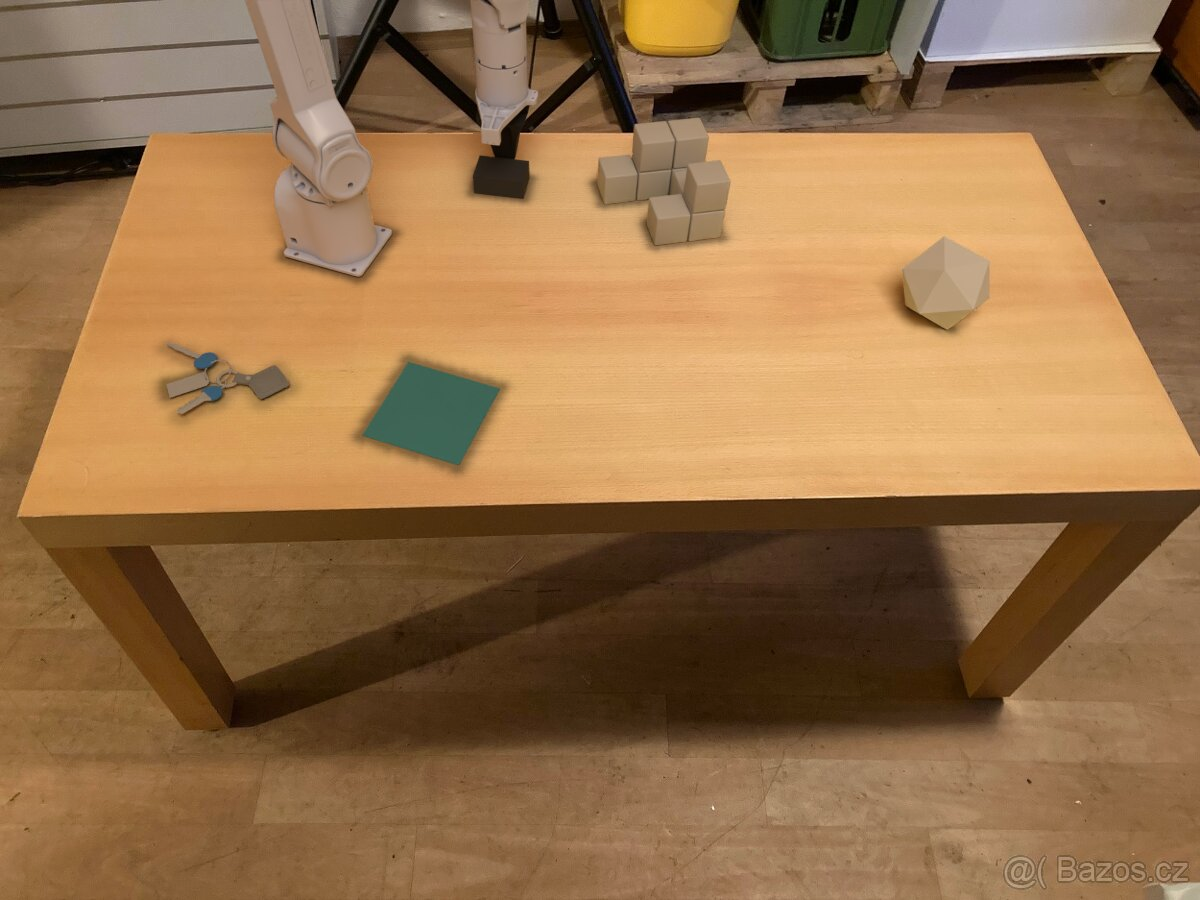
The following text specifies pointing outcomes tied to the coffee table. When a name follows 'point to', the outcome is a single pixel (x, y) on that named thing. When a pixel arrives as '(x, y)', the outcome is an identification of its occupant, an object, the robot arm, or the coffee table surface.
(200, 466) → the coffee table surface
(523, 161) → the eraser
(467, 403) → the mat
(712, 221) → the grey cube cluster
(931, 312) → the die
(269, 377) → the key chain
